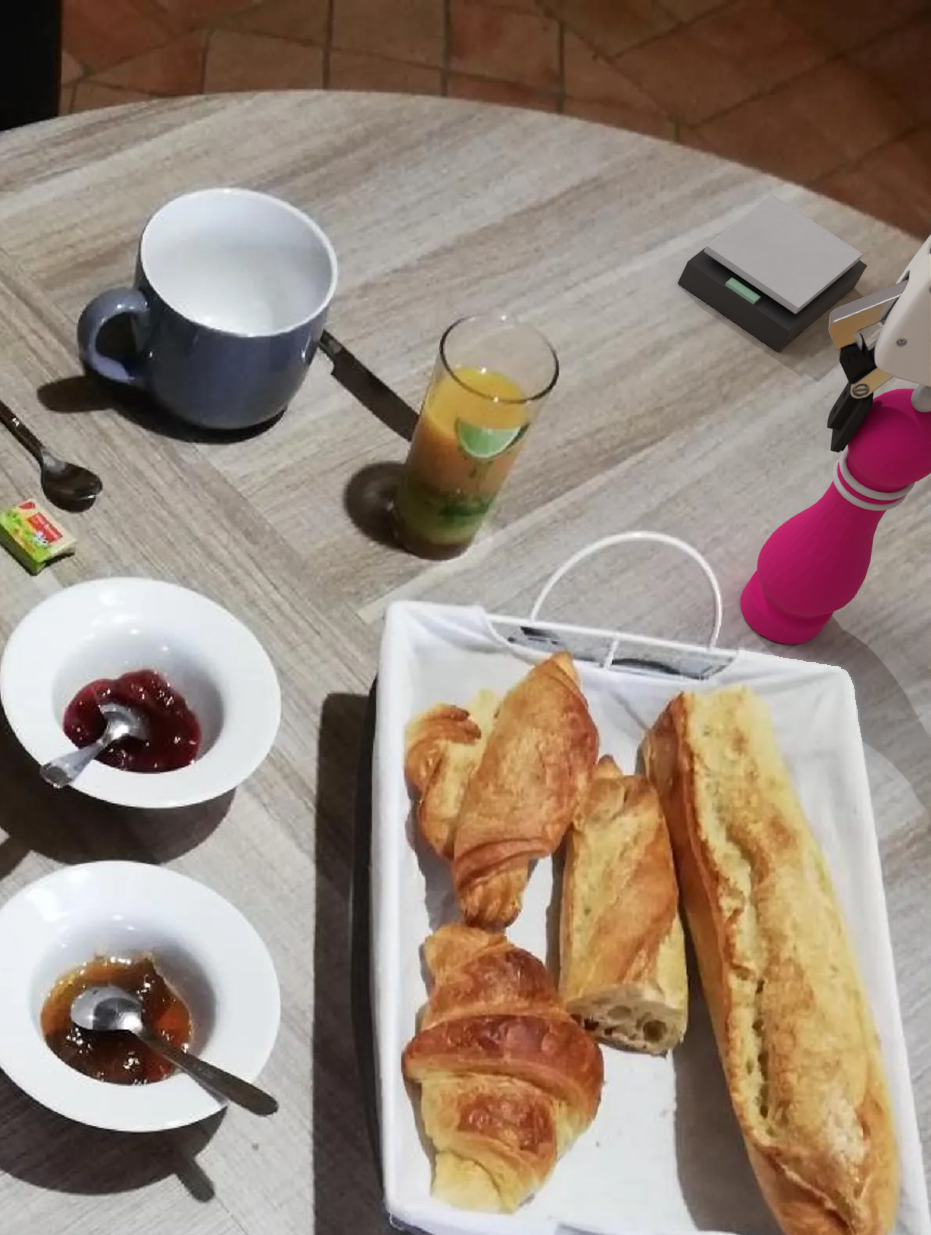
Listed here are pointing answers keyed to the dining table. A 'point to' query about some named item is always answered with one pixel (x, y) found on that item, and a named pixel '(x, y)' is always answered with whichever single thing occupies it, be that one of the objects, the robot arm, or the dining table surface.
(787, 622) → the pepper mill
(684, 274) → the scale
